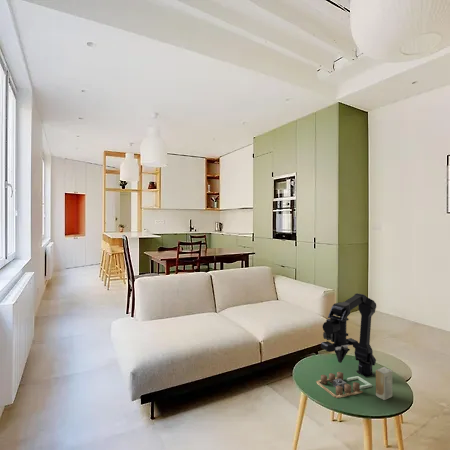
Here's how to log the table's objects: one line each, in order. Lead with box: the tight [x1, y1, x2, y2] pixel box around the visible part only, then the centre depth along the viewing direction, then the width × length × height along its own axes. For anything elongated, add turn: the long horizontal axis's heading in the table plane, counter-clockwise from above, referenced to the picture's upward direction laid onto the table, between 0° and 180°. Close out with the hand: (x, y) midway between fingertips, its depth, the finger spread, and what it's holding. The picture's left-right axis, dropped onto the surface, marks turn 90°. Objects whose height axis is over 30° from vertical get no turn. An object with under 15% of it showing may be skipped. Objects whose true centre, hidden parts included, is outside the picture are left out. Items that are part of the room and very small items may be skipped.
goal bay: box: [346, 375, 373, 390], centre depth 149 cm, size 7×9×1 cm
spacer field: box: [315, 371, 364, 399], centre depth 145 cm, size 16×15×4 cm
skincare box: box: [375, 366, 393, 401], centre depth 137 cm, size 6×4×12 cm
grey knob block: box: [332, 379, 348, 390], centre depth 145 cm, size 4×4×3 cm
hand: (339, 362), depth 145 cm, fingers closed
